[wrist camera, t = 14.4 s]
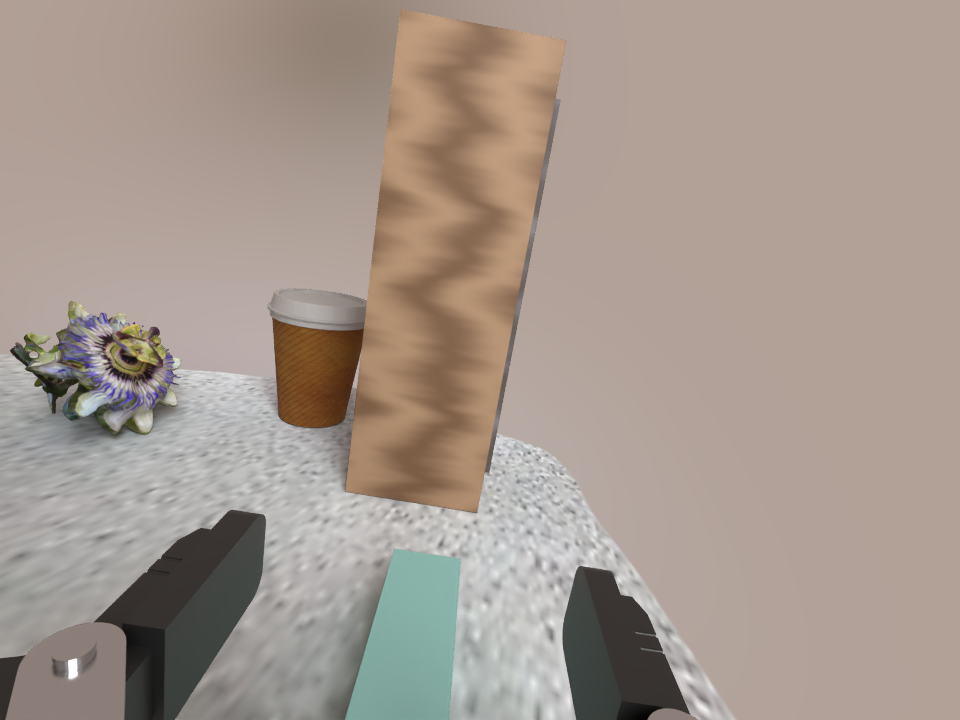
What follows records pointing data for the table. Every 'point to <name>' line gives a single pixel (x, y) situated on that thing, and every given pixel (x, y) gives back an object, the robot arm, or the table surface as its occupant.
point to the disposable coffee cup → (315, 353)
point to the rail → (410, 642)
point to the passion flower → (104, 370)
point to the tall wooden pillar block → (450, 254)
